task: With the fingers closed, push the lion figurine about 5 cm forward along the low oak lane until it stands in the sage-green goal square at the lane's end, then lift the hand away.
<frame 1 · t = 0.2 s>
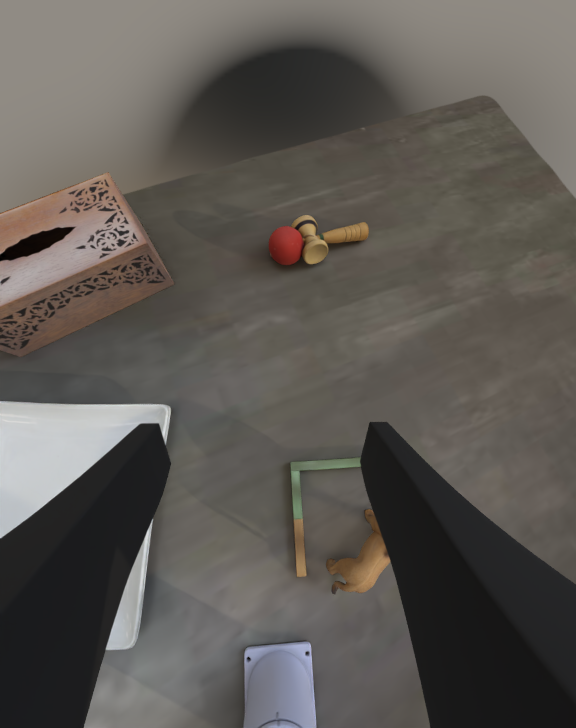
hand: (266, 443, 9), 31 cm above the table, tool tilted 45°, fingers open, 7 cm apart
square plate: (65, 505, 36), on the table
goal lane: (359, 508, 37), on the table
kendama: (317, 249, 49), on the table
lion figurine: (361, 532, 37), on the table
tissue box cover: (87, 285, 46), on the table
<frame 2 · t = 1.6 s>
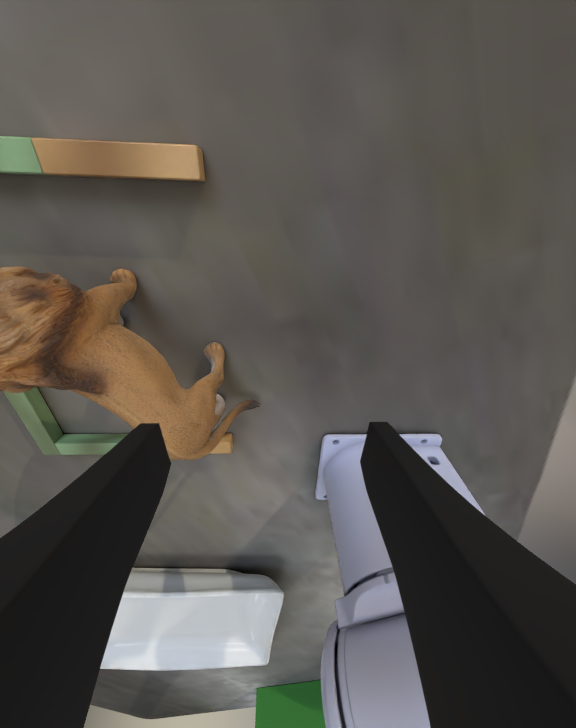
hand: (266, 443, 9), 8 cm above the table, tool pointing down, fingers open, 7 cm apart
square plate: (176, 600, 37), on the table
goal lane: (105, 337, 16), on the table
lion figurine: (157, 336, 16), on the table
hardback book: (296, 685, 65), on the table
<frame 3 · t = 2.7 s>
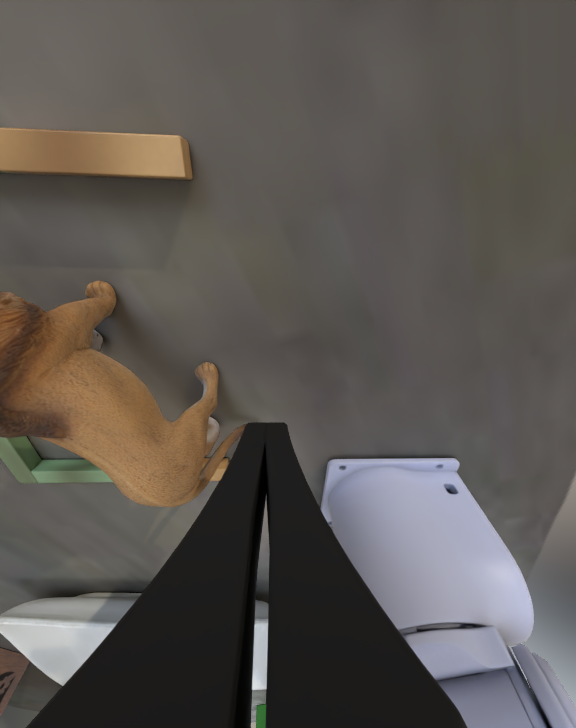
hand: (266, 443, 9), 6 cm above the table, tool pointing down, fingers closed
square plate: (171, 624, 35), on the table
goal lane: (82, 356, 14), on the table
lion figurine: (142, 355, 15), on the table
hardback book: (297, 702, 63), on the table
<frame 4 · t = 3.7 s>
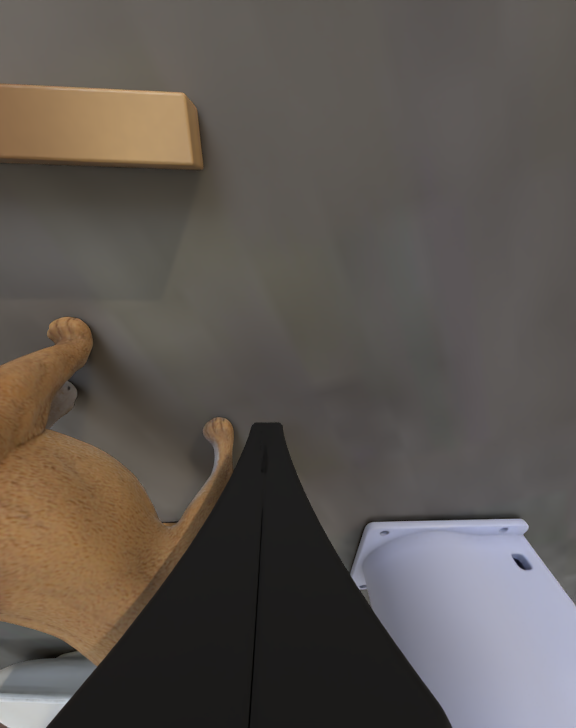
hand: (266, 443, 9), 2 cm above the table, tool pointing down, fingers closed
square plate: (172, 674, 31), on the table
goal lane: (52, 412, 11), on the table
lion figurine: (132, 408, 11), on the table, touching gripper
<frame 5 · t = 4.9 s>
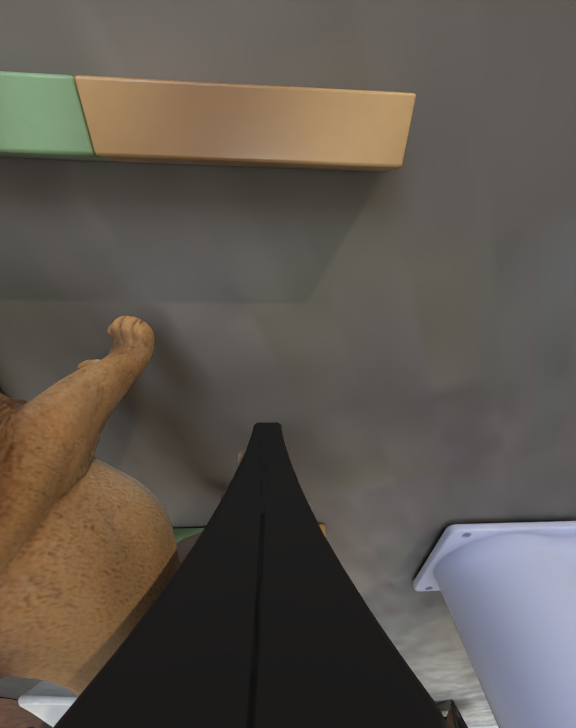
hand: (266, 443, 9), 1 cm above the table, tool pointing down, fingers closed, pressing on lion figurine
square plate: (211, 675, 31), on the table
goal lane: (166, 416, 10), on the table
lion figurine: (172, 410, 10), on the table, touching gripper
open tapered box: (417, 707, 48), on the table
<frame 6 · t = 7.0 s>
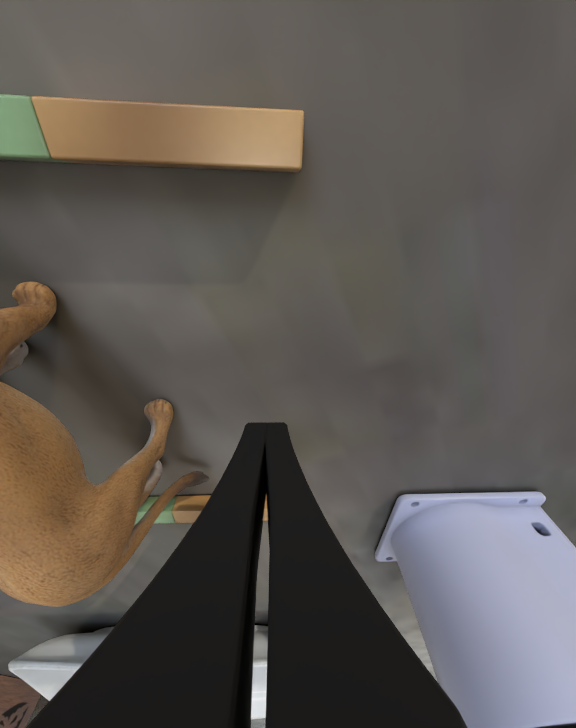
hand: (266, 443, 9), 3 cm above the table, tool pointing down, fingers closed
square plate: (196, 652, 33), on the table
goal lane: (132, 387, 12), on the table
lion figurine: (80, 376, 12), on the table
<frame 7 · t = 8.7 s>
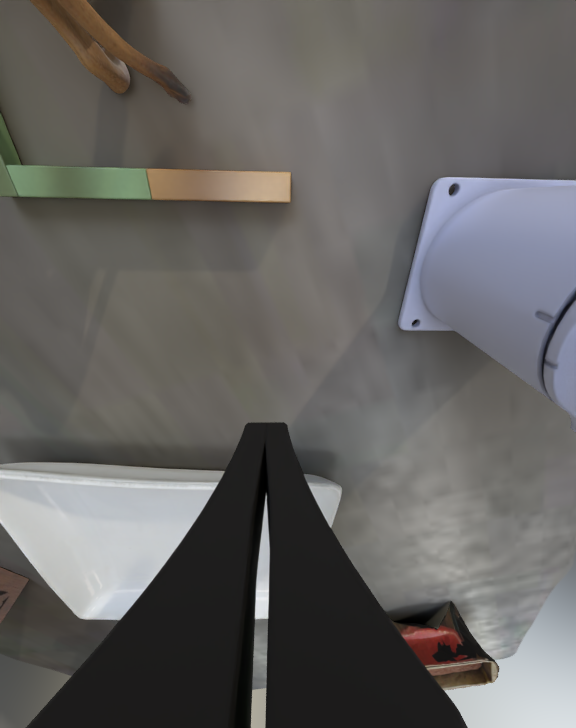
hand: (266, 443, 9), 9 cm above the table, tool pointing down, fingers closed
square plate: (192, 529, 29), on the table
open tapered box: (415, 617, 46), on the table
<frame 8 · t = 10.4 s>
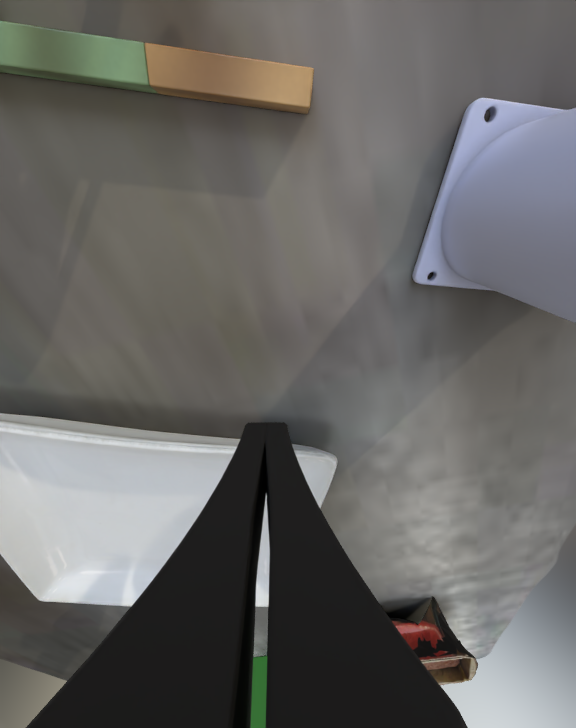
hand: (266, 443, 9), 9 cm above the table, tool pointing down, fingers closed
square plate: (170, 506, 27), on the table
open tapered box: (395, 613, 45), on the table
hardback book: (297, 656, 56), on the table
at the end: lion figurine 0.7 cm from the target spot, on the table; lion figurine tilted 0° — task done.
